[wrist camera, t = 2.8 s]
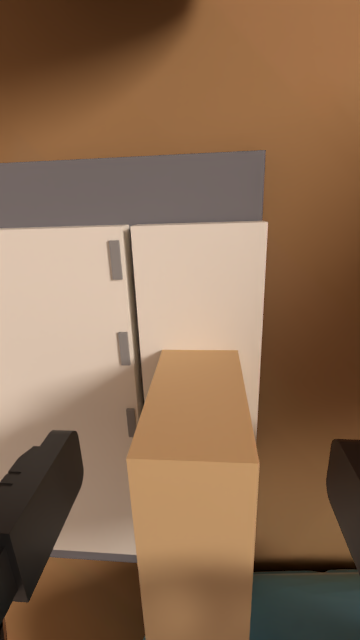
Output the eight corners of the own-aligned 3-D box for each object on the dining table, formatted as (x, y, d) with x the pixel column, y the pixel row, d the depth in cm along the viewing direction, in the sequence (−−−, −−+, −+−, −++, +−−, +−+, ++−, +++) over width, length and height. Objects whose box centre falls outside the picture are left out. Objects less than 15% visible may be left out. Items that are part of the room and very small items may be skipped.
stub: (137, 224, 11) (54, 246, 5) (262, 220, 10) (327, 239, 5) (160, 536, 15) (130, 732, 10) (247, 542, 15) (269, 748, 9)
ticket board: (-131, 173, 12) (-198, 167, 10) (260, 154, 11) (271, 143, 9) (-17, 533, 18) (-45, 574, 16) (243, 549, 17) (247, 596, 15)
